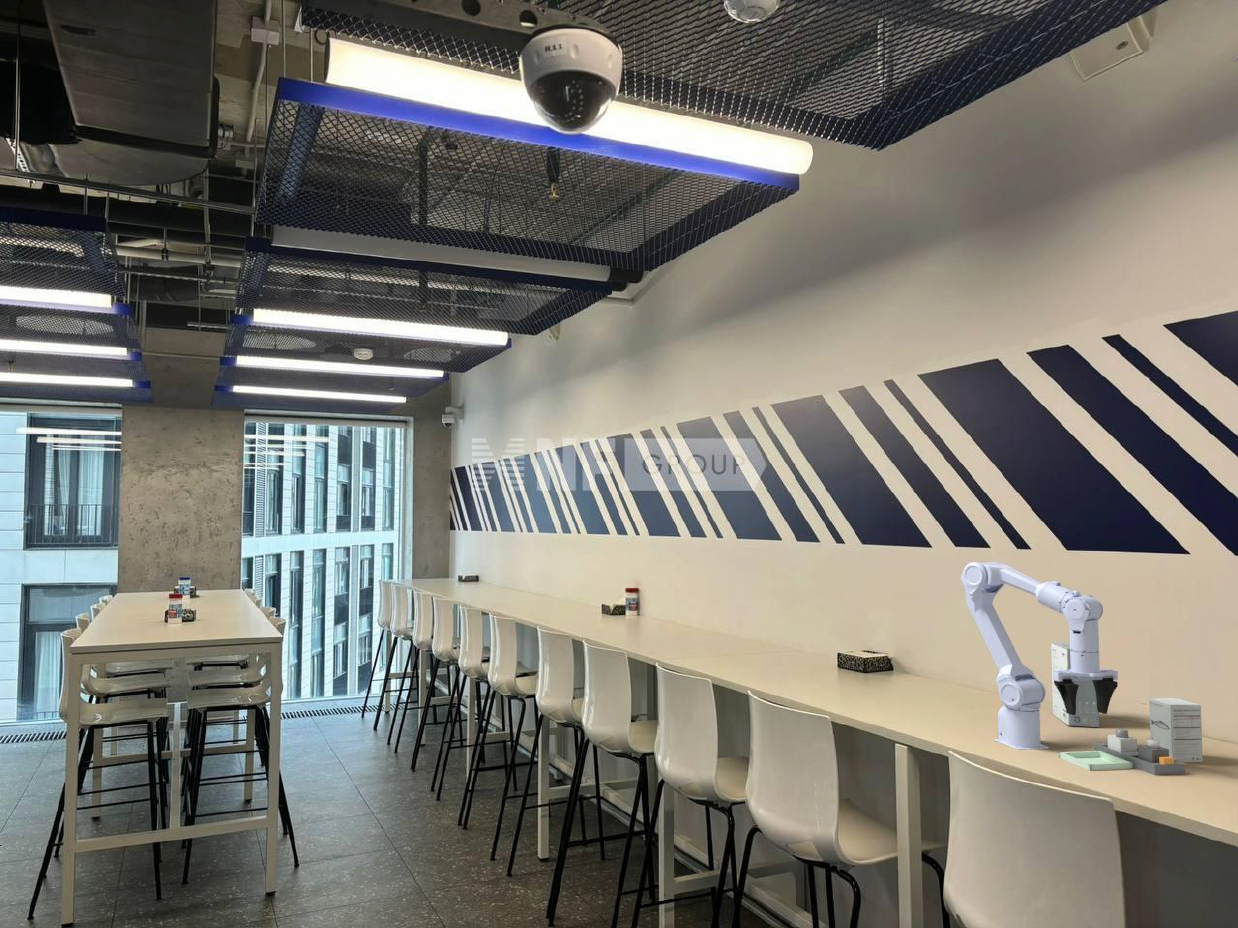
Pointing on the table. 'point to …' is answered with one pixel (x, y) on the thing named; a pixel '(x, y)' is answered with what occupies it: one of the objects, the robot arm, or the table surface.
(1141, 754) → the plug
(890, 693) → the table surface
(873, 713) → the table surface
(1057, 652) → the hard drive box
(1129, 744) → the twin plug
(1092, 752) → the tray
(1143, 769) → the power strip
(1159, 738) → the supplement box
